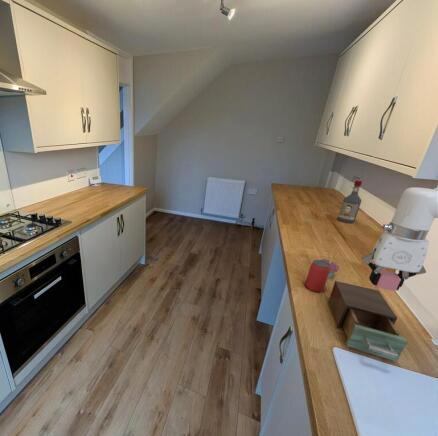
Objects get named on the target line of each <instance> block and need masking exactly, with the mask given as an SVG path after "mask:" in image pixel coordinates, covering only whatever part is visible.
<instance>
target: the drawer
mask: <svg viewBox="0 0 438 436" xmlns="http://www.w3.org/2000/svg"><path fill="white" fill-rule="evenodd" d="M342 325H343V328H344V333H345V336H346V338H347V339H346V342H345V344H346V347H349V348H352V349H354V350H357V351H361V352H364V353H368V354H371V355H374V356H377V357H381V358H384V359H387V360H390V361H394V362H398V360H399V358H400V357H401V355H402V353H403V350H404V349H405V347H406V345H407V344H408V339H407V338H406V337H404V336H401V335H400V332H399V331H398V329H397V327H396V326H395V324H393V323H392V321H391V320H390V318H387V317H383V316H379V315H375V314H371V313H367V312H364V311H360V310H356V309H352V308H348V309H347V311H346V314H345V316H344V319H343V322H342Z"/></svg>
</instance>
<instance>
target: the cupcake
mask: <svg viewBox="0 0 438 436" xmlns="http://www.w3.org/2000/svg"><path fill="white" fill-rule="evenodd" d="M334 257H335V253H333V254H332V255H331V257H330V259H326V258H325V259H321V260H322V261H325V262H327V263H328V264H329V265H330V272H329V275H328V278H327V279H329V278H332V277H333V275H334V274H336V273H339V271H340V267H339V265H338V264H337V263H335V262H334V261H333V259H334Z"/></svg>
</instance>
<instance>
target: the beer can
mask: <svg viewBox="0 0 438 436" xmlns="http://www.w3.org/2000/svg"><path fill="white" fill-rule="evenodd" d="M322 260H323V259H313V261H312V262H311V264H310V265H309V269H308V272H307V276H306V278H305V283H304V285H305V287H306V288H307V289H308V290H310V291H311V292H315V293H321V292H324V290H325V287H326V284H327V282H328V279H329V278H328V275H329V272H330V265H329V264H328V263H327V262H325V261H322Z"/></svg>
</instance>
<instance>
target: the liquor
mask: <svg viewBox="0 0 438 436" xmlns="http://www.w3.org/2000/svg"><path fill="white" fill-rule="evenodd" d="M362 183H363V181H362V180H355V182H354V184H353V187H352V188H353V189H352V192H351V193H350V194H349V195H348V196H346V197H344V199H343V200H342V203H341V207H340V210H339V213H338V216H337V221H338V222H341V221H342V222H341V223H345V222H346V223H345V224H353V223H354V222H355V221H356V218H357V215H358V212H359V210H360V207H361V204H362V198H361V197H360V195H359V191H360V188H361V186H362Z"/></svg>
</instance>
